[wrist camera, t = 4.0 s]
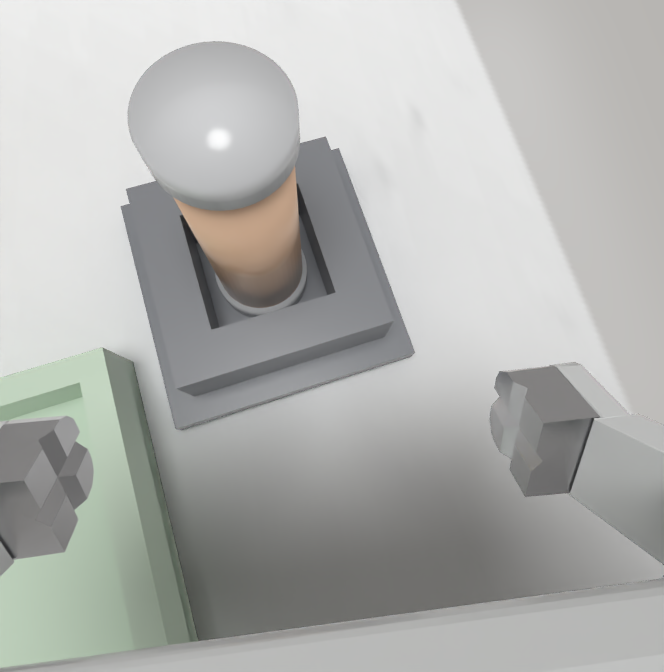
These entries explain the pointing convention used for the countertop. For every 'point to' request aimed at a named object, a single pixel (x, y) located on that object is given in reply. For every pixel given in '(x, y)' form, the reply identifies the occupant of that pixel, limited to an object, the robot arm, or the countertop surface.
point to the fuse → (228, 164)
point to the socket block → (274, 327)
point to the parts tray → (96, 527)
